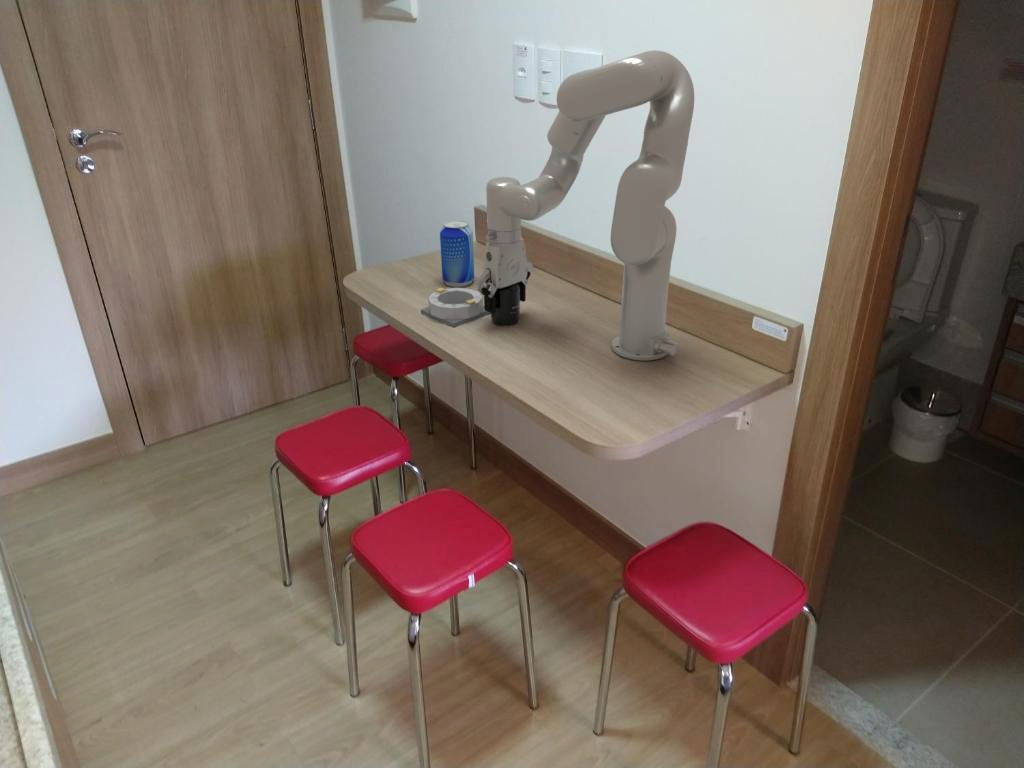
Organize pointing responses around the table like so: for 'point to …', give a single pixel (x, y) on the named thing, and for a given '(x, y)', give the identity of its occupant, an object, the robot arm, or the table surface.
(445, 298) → the socket
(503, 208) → the robot arm
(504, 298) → the supplement bottle
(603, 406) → the table surface
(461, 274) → the beer can
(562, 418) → the table surface
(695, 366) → the table surface
